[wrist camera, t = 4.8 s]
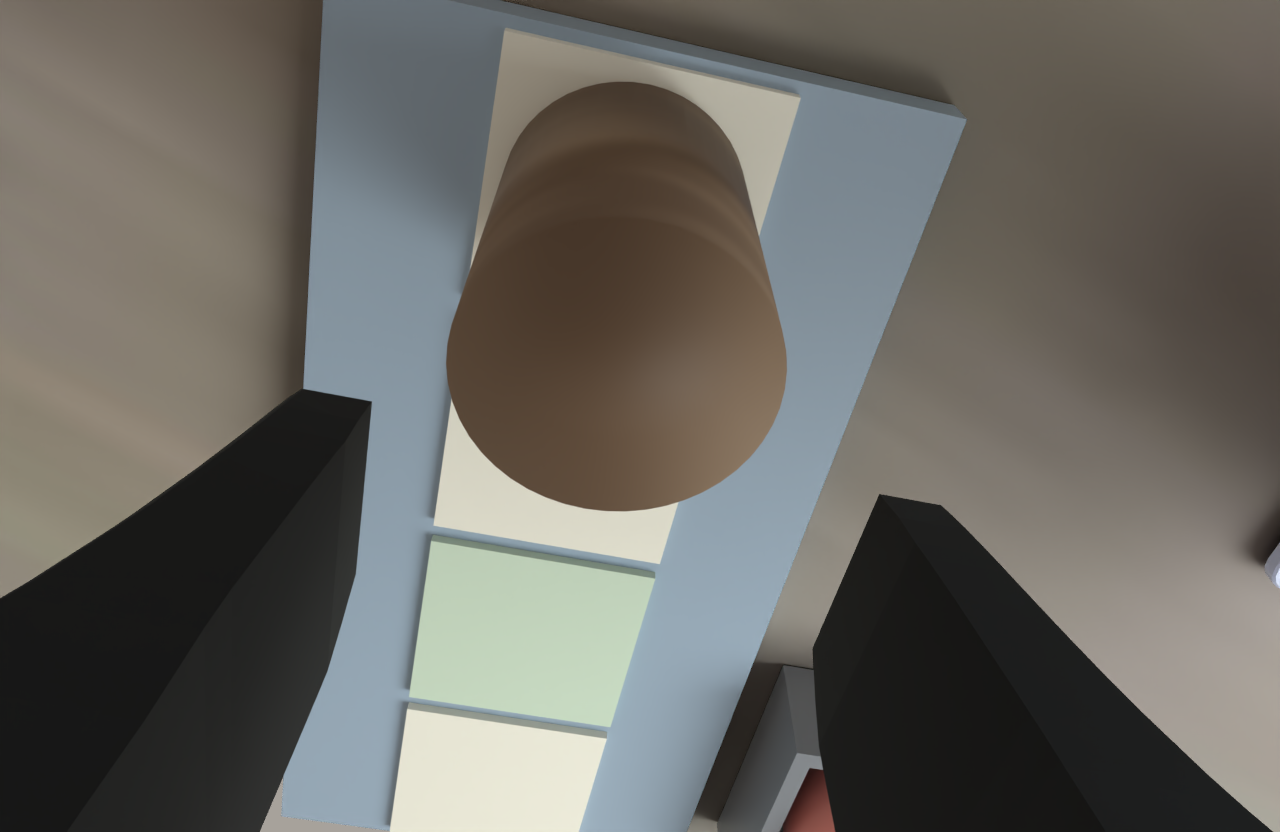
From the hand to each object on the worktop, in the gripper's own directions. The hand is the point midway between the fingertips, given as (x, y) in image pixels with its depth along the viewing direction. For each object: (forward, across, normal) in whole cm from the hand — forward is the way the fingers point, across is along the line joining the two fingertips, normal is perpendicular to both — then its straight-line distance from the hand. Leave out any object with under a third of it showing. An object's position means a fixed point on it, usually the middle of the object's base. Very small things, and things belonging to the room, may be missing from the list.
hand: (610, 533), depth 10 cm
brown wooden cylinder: (+8, 0, 0) cm, 8 cm away
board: (+9, 0, +8) cm, 12 cm away
